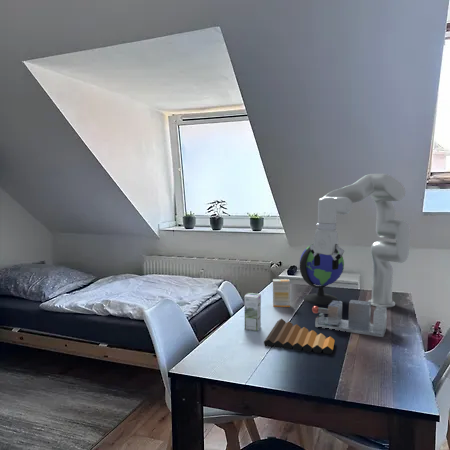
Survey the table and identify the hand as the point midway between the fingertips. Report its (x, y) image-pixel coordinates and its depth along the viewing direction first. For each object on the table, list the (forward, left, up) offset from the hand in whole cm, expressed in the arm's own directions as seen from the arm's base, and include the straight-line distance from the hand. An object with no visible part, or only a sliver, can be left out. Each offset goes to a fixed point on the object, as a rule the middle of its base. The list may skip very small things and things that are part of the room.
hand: (325, 267), depth 179 cm
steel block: (-1, +14, -24) cm, 27 cm away
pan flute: (+20, -4, -26) cm, 33 cm away
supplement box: (-18, -26, -25) cm, 40 cm away
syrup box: (+18, -26, -25) cm, 40 cm away
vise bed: (0, +11, -25) cm, 27 cm away
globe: (-37, -11, -25) cm, 46 cm away
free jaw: (0, 0, -23) cm, 23 cm away
